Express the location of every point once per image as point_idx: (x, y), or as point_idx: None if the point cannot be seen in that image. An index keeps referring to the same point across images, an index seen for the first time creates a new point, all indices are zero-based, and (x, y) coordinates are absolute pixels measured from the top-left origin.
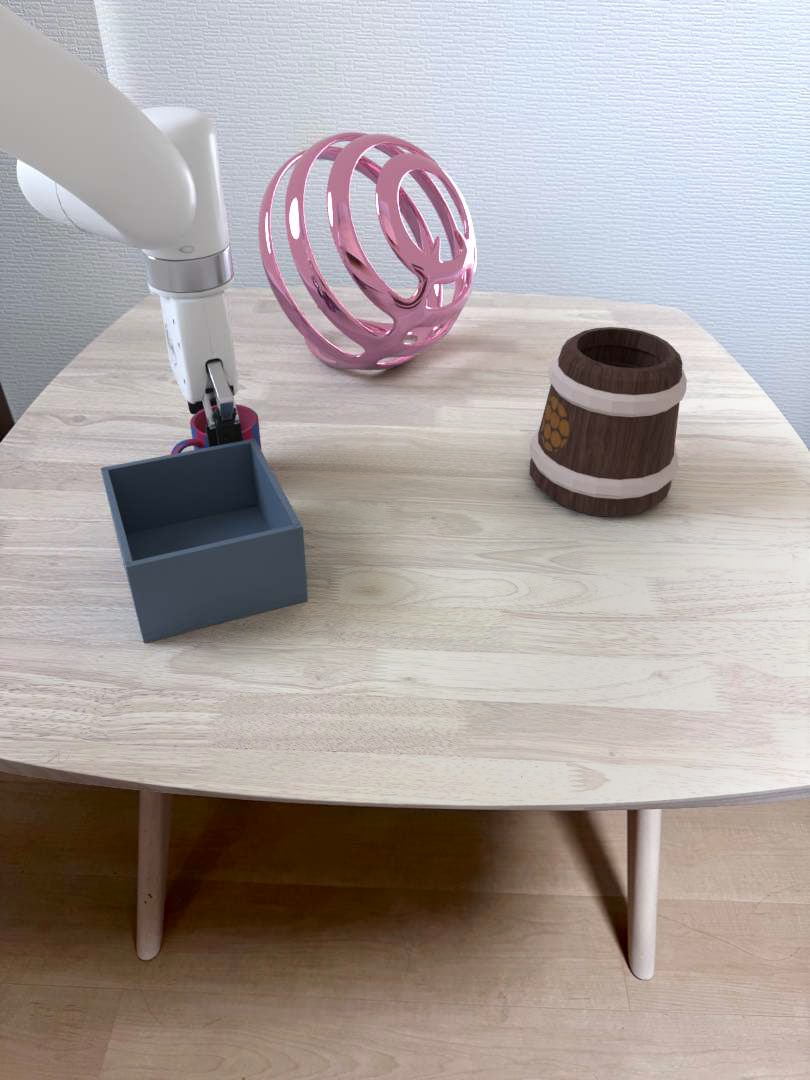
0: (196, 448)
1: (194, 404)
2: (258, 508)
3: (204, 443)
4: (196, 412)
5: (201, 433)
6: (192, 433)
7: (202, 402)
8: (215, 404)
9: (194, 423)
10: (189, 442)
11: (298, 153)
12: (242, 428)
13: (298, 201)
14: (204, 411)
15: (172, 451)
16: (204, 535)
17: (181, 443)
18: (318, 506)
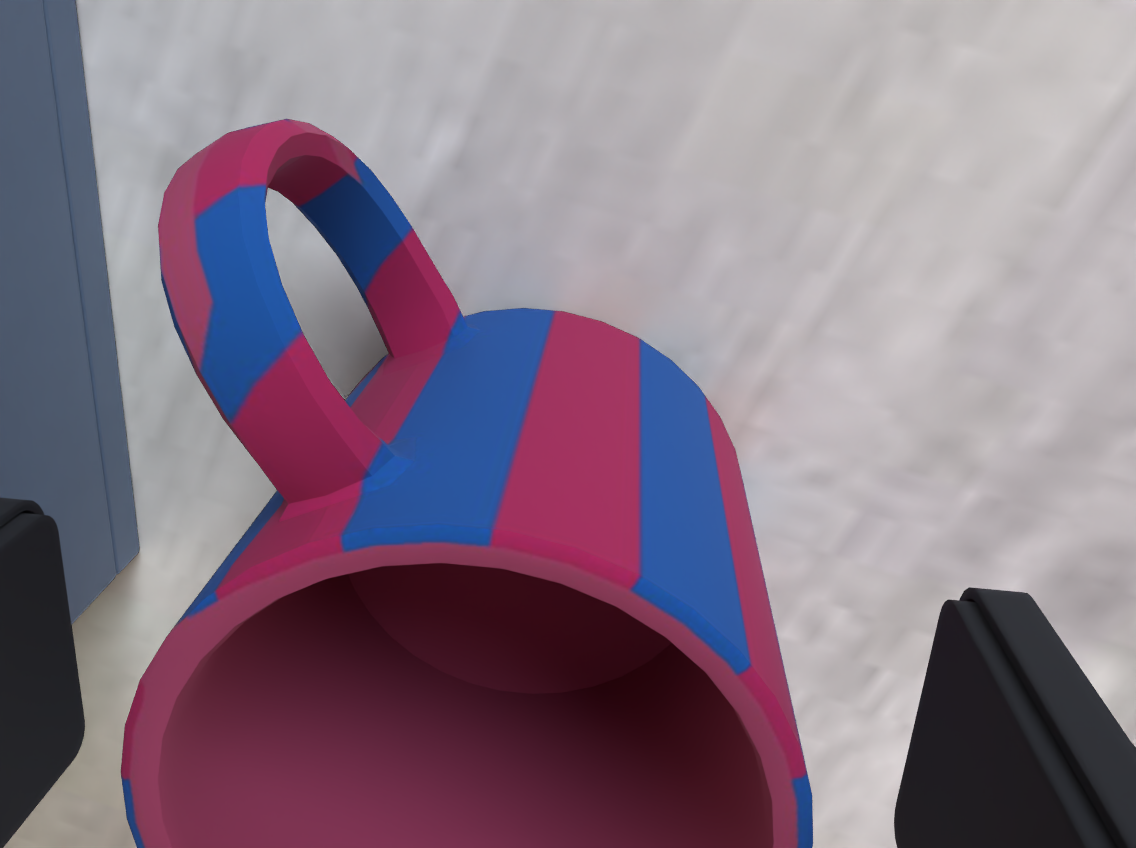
0: (416, 432)
1: (974, 693)
2: None
3: (261, 530)
4: (942, 639)
5: (257, 577)
6: (444, 490)
7: (954, 774)
8: (911, 841)
9: (539, 575)
10: (236, 411)
11: None
12: (648, 825)
13: None
14: (750, 732)
15: (221, 197)
16: None
17: (238, 329)
18: (74, 787)
